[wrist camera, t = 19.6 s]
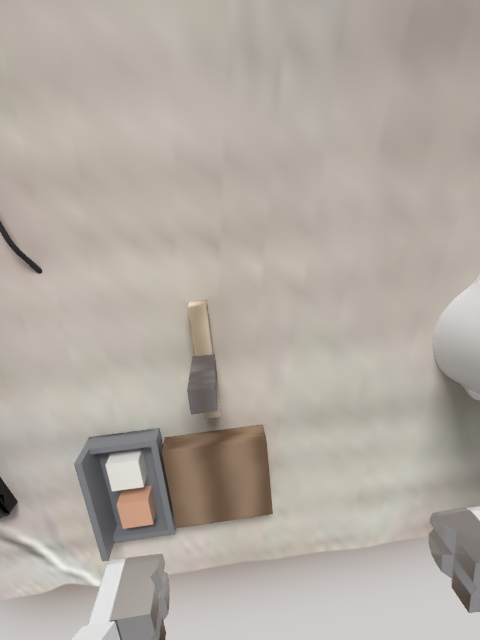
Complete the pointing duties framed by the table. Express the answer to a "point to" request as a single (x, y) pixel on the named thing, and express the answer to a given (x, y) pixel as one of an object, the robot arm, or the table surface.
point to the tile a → (126, 469)
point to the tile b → (136, 507)
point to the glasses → (1, 229)
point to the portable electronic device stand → (6, 500)
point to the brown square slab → (218, 475)
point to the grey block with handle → (202, 364)
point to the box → (105, 500)
